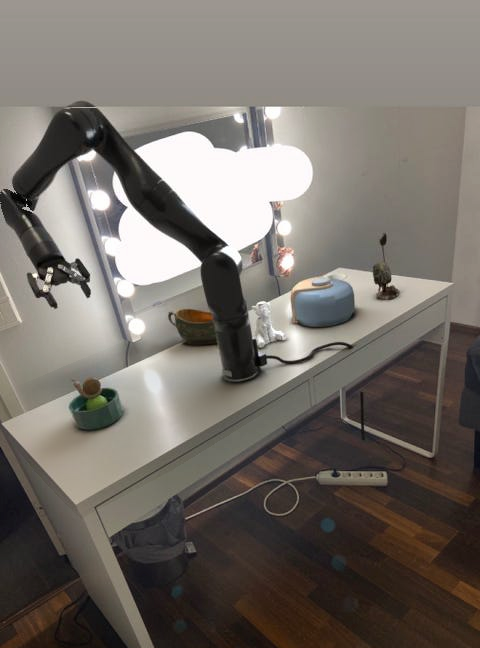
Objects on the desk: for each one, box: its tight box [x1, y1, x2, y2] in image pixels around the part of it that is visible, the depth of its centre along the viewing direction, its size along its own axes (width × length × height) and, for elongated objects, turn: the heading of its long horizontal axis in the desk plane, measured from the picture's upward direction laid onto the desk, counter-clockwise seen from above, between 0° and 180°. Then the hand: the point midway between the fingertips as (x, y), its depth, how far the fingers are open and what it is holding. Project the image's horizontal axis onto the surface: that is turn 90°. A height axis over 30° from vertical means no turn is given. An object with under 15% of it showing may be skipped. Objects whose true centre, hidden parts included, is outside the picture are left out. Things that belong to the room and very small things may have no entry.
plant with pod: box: [371, 232, 400, 300], centre depth 161 cm, size 8×11×20 cm
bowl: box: [68, 387, 124, 431], centre depth 124 cm, size 12×12×6 cm
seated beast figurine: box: [250, 301, 287, 349], centre depth 148 cm, size 10×9×12 cm
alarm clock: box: [289, 275, 356, 328], centre depth 157 cm, size 19×20×12 cm
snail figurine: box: [70, 377, 108, 411], centre depth 122 cm, size 5×6×12 cm
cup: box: [167, 308, 218, 346], centre depth 158 cm, size 13×20×10 cm, turn 41°
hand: (72, 301), depth 122 cm, fingers open, 8 cm apart
